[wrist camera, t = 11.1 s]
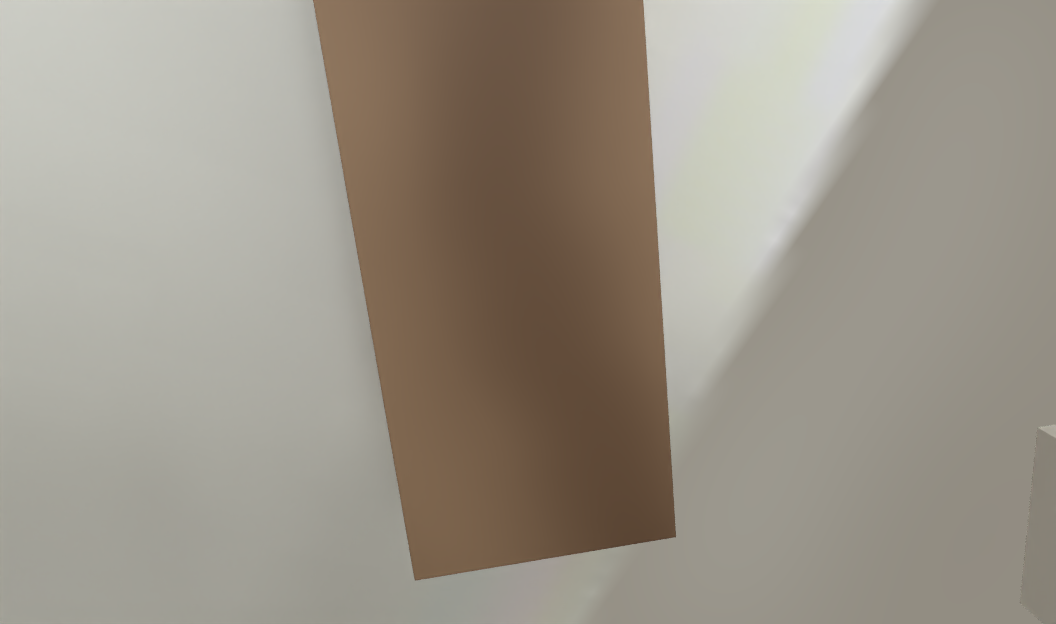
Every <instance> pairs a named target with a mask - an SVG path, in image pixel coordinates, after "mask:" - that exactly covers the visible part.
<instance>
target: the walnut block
mask: <svg viewBox="0 0 1056 624" xmlns="http://www.w3.org/2000/svg"><path fill="white" fill-rule="evenodd" d="M313 2H314V8H315V13H316V19H317V25H318V31H319V36H320V42H321V48H322V53H323V59H324V65H325V71H326V76H327V82H328V88H329V93H330V99H331V105H332V110H333V116H334V122H335V128H336V133H337V139H338V145H339V150H340V156H341V162H342V168H343V173H344V179H345V185H346V190H347V196H348V202H349V207H350V213H351V219H352V225H353V230H354V236H355V242H356V247H357V253H358V259H359V265H360V270H361V276H362V282H363V287H364V293H365V299H366V304H367V310H368V316H369V322H370V327H371V333H372V339H373V344H374V350H375V356H376V362H377V367H378V373H379V379H380V384H381V390H382V396H383V401H384V407H385V413H386V419H387V424H388V430H389V436H390V441H391V447H392V453H393V459H394V464H395V470H396V476H397V481H398V487H399V493H400V498H401V504H402V510H403V516H404V521H405V527H406V533H407V538H408V544H409V550H410V556H411V561H412V567H413V573H414V578H415V580H421V579H427V578H433V577H439V576H445V575H451V574H457V573H463V572H469V571H475V570H481V569H487V568H493V567H499V566H505V565H511V564H517V563H523V562H529V561H535V560H541V559H547V558H553V557H559V556H565V555H571V554H577V553H583V552H589V551H595V550H601V549H607V548H613V547H619V546H625V545H631V544H637V543H643V542H649V541H655V540H661V539H667V538H672V537H676V531H675V514H674V498H673V481H672V465H671V449H670V432H669V416H668V400H667V383H666V367H665V350H664V334H663V318H662V301H661V285H660V269H659V252H658V236H657V219H656V203H655V187H654V170H653V154H652V138H651V121H650V105H649V88H648V72H647V56H646V39H645V23H644V7H643V0H313Z"/></svg>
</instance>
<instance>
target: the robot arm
mask: <svg viewBox="0 0 1056 624" xmlns="http://www.w3.org/2000/svg"><path fill="white" fill-rule="evenodd" d="M1020 603H1021V604H1022V605H1023V606H1024V607H1025V608H1026V609H1027V610H1028V611H1029V612H1031V613H1032V614H1033V615H1034V616H1035V617H1036V618H1037V619H1038V620H1040V621H1041V622H1042V623H1043V624H1056V425H1050V426H1044V427H1038V428H1037V438H1036V448H1035V457H1034V467H1033V477H1032V487H1031V497H1030V506H1029V516H1028V526H1027V536H1026V546H1025V557H1024V566H1023V576H1022V586H1021V596H1020Z"/></svg>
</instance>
